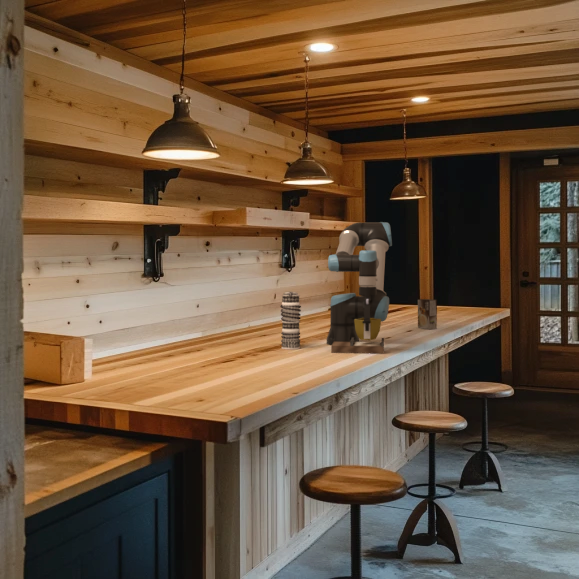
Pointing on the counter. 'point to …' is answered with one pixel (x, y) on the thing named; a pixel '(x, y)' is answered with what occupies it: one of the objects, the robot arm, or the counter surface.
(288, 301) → the decorative candle
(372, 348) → the dock
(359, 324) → the flower pot
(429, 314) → the coffee box
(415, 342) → the counter surface
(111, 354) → the counter surface
